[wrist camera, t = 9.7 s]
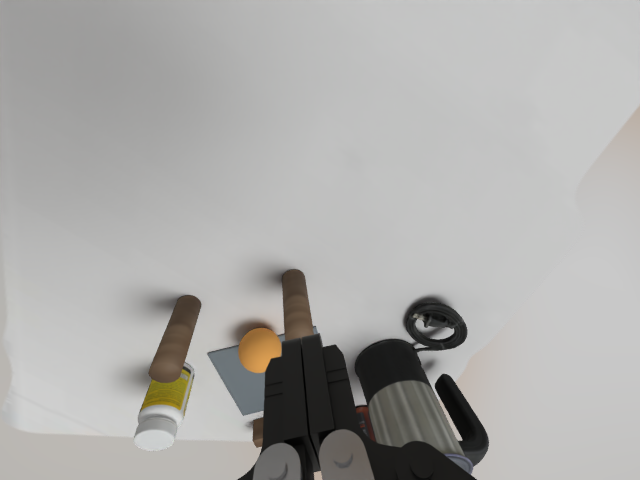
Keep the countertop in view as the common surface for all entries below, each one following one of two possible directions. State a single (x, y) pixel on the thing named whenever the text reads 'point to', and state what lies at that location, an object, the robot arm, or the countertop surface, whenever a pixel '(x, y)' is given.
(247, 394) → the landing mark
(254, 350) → the ball
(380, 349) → the milk frother
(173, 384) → the supplement bottle
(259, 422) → the rail
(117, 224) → the countertop surface
